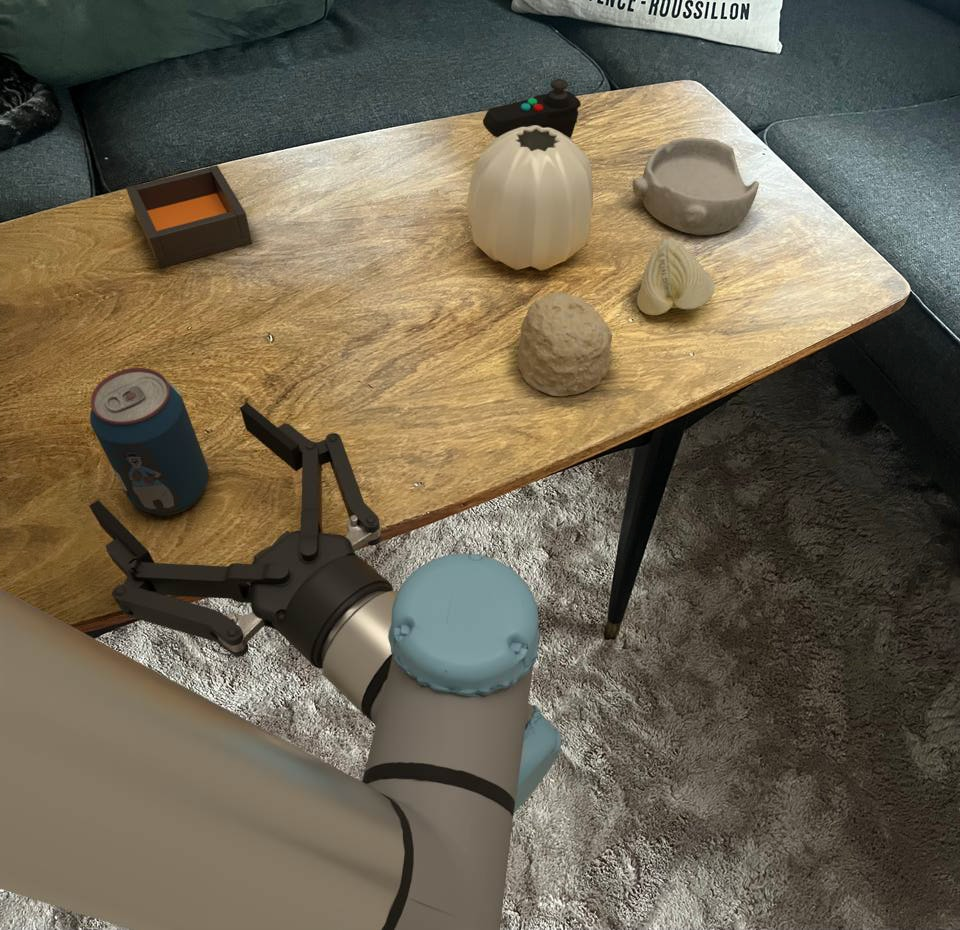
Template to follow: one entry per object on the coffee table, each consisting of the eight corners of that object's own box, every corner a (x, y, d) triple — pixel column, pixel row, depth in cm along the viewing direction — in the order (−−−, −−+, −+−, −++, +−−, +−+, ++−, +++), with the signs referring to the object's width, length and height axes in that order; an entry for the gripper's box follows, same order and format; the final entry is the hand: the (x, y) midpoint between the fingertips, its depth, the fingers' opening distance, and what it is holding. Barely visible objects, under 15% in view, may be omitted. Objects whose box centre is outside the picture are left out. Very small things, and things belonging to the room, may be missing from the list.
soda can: (192, 446, 75) (155, 349, 66) (225, 496, 72) (192, 402, 62) (117, 481, 72) (68, 385, 63) (148, 535, 69) (101, 442, 60)
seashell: (627, 311, 85) (625, 237, 86) (646, 334, 93) (643, 266, 94) (709, 299, 82) (705, 223, 83) (720, 325, 89) (717, 254, 91)
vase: (525, 302, 89) (535, 192, 78) (442, 241, 95) (442, 131, 85) (613, 252, 95) (633, 143, 84) (529, 197, 101) (538, 90, 91)
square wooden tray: (159, 268, 91) (149, 238, 88) (136, 217, 96) (125, 187, 93) (252, 243, 94) (245, 212, 91) (224, 195, 100) (217, 164, 97)
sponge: (570, 361, 89) (532, 278, 85) (643, 355, 82) (606, 264, 78) (521, 411, 84) (478, 326, 80) (595, 409, 77) (552, 316, 73)
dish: (699, 162, 107) (709, 125, 103) (774, 218, 100) (788, 181, 96) (609, 193, 102) (616, 156, 98) (682, 254, 95) (692, 216, 91)
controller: (578, 162, 106) (588, 86, 98) (492, 184, 103) (496, 107, 95) (562, 146, 109) (570, 70, 101) (477, 167, 105) (479, 90, 97)
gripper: (220, 784, 54) (48, 586, 62) (480, 548, 65) (306, 410, 74) (192, 741, 48) (6, 530, 56) (483, 491, 60) (293, 348, 68)
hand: (176, 462), depth 65 cm, fingers open, 13 cm apart
